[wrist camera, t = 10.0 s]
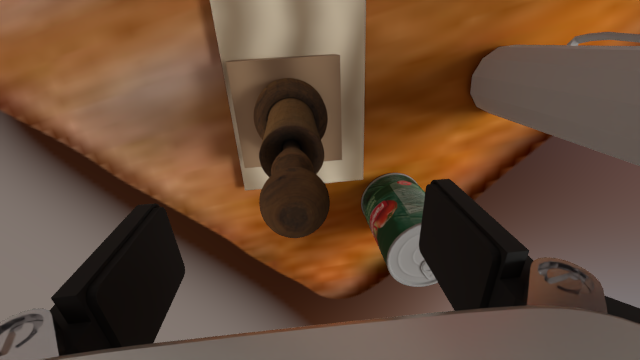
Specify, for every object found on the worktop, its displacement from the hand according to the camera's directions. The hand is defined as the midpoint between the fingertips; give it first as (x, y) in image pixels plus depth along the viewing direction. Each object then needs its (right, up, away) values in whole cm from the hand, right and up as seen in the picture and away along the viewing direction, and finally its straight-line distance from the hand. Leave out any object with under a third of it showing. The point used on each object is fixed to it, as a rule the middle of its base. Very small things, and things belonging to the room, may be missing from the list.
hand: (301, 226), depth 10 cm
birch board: (-2, +11, +20) cm, 23 cm away
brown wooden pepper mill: (-2, +8, +17) cm, 19 cm away
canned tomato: (+10, -1, +27) cm, 29 cm away
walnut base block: (-3, +9, +20) cm, 22 cm away
